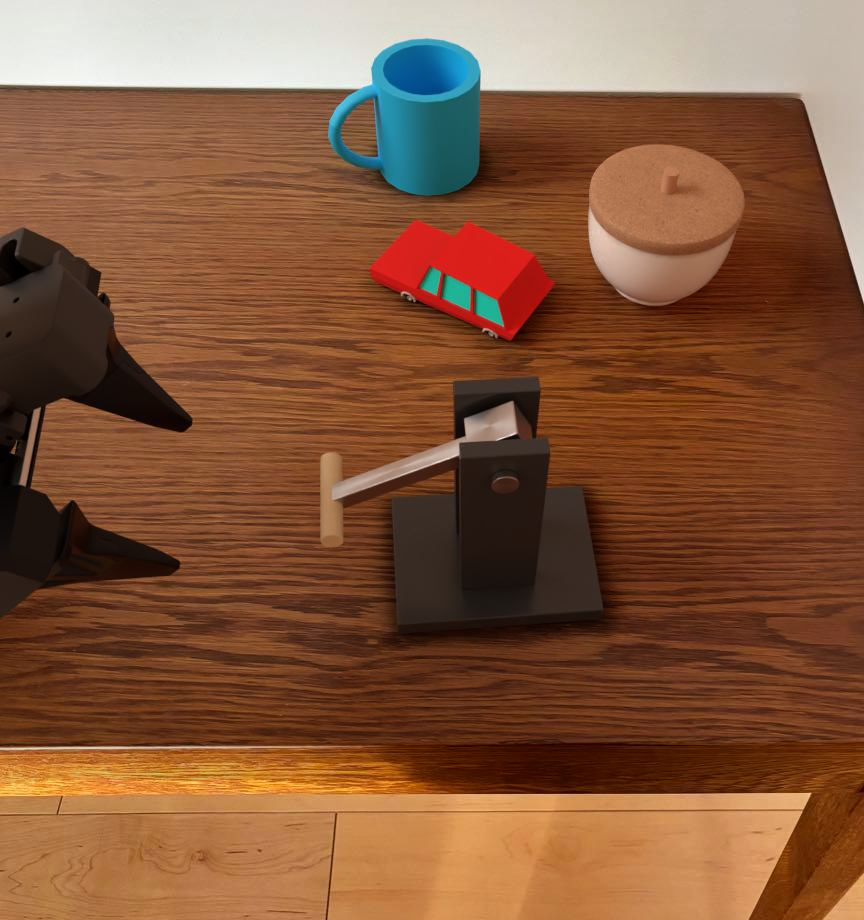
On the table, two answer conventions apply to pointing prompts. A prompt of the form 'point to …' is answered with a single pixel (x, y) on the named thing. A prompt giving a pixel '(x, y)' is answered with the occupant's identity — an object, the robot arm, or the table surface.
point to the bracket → (495, 532)
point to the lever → (407, 468)
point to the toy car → (465, 276)
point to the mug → (420, 117)
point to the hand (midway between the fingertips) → (182, 494)
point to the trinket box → (662, 221)
